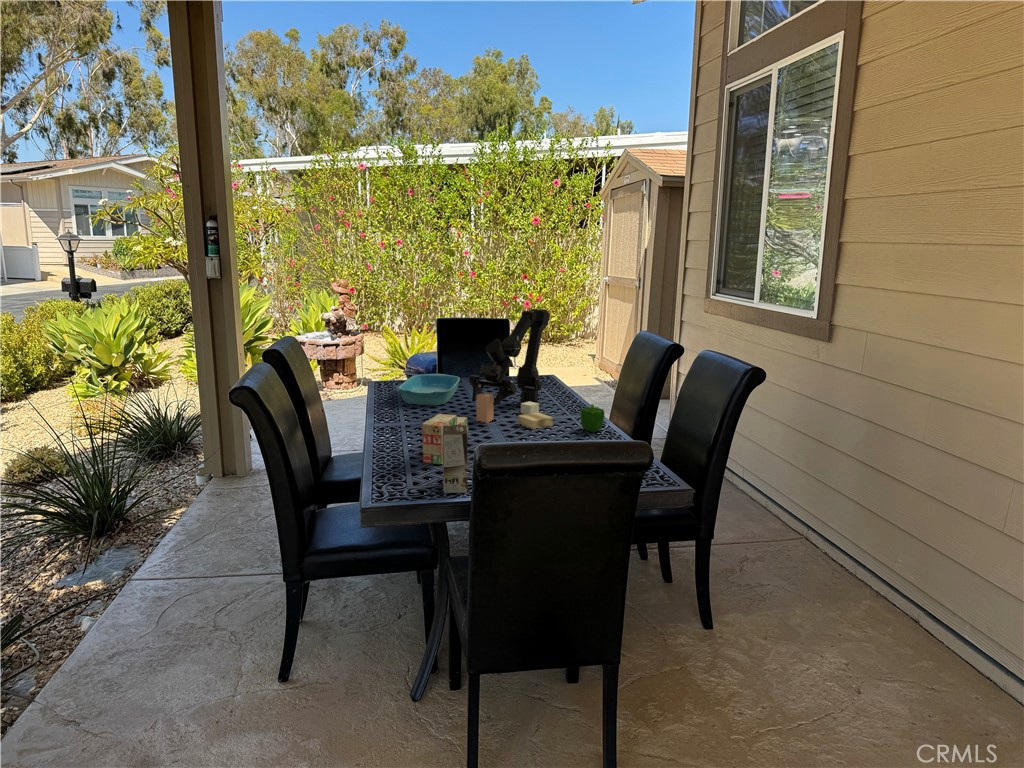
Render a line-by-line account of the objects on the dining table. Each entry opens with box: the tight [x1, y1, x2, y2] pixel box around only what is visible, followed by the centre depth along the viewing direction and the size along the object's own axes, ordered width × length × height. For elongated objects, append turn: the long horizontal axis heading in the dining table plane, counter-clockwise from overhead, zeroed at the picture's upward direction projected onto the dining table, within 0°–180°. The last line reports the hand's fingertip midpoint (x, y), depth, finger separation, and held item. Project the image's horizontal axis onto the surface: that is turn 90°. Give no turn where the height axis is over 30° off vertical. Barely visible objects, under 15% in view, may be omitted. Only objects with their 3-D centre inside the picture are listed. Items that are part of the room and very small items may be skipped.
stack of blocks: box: [421, 413, 469, 465], centre depth 202 cm, size 21×6×12 cm, turn 162°
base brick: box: [517, 411, 554, 430], centre depth 237 cm, size 9×9×4 cm
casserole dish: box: [398, 373, 460, 406], centre depth 277 cm, size 37×22×7 cm, turn 175°
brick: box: [520, 401, 540, 415], centre depth 254 cm, size 5×5×4 cm
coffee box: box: [442, 425, 469, 494], centre depth 173 cm, size 9×6×16 cm
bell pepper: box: [580, 403, 606, 433], centre depth 231 cm, size 8×8×10 cm
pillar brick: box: [476, 392, 495, 424], centre depth 241 cm, size 4×4×10 cm
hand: (483, 403), depth 239 cm, fingers open, 9 cm apart
